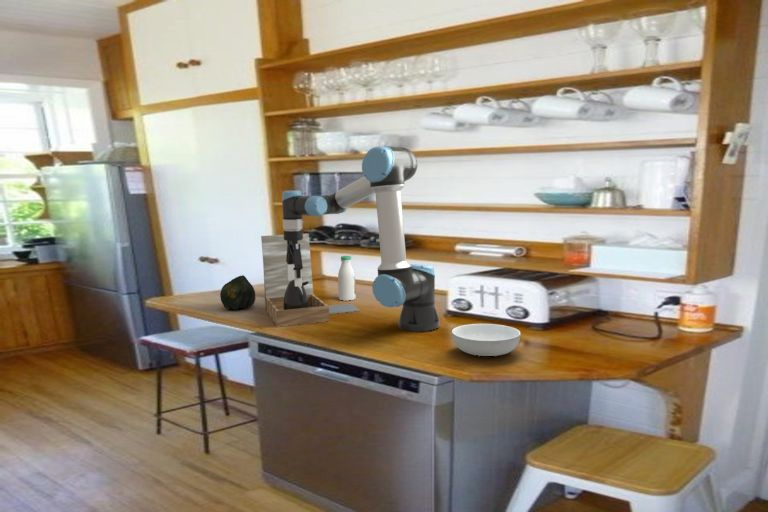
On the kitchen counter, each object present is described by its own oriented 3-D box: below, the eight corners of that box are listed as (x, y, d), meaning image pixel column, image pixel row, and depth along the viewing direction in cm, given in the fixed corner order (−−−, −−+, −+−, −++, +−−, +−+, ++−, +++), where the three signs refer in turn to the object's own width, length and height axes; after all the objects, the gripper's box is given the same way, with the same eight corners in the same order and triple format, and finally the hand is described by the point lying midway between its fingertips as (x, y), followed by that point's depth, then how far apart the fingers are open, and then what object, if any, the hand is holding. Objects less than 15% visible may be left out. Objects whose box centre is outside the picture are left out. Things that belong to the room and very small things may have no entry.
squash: (207, 298, 238) (227, 272, 234) (227, 292, 252) (246, 268, 248) (230, 321, 236) (250, 296, 232) (249, 314, 250) (268, 290, 246)
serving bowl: (532, 351, 174) (533, 329, 173) (497, 368, 158) (497, 344, 157) (475, 339, 187) (475, 319, 186) (438, 354, 172) (437, 332, 171)
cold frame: (329, 321, 216) (326, 239, 212) (277, 327, 209) (273, 242, 205) (310, 305, 246) (307, 233, 241) (264, 309, 239) (260, 235, 234)
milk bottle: (353, 301, 251) (351, 257, 248) (336, 301, 253) (335, 257, 250) (357, 297, 259) (356, 255, 256) (341, 297, 260) (340, 254, 258)
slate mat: (360, 311, 232) (360, 309, 232) (327, 314, 227) (327, 313, 227) (350, 304, 245) (350, 303, 245) (318, 307, 240) (318, 306, 240)
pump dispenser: (307, 319, 219) (306, 281, 217) (281, 320, 220) (279, 282, 218) (311, 313, 230) (310, 277, 228) (286, 314, 230) (284, 277, 228)
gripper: (309, 232, 210) (311, 288, 213) (296, 227, 233) (297, 277, 236) (289, 233, 207) (291, 289, 210) (277, 227, 230) (279, 278, 233)
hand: (294, 283), depth 223 cm, fingers open, 13 cm apart
